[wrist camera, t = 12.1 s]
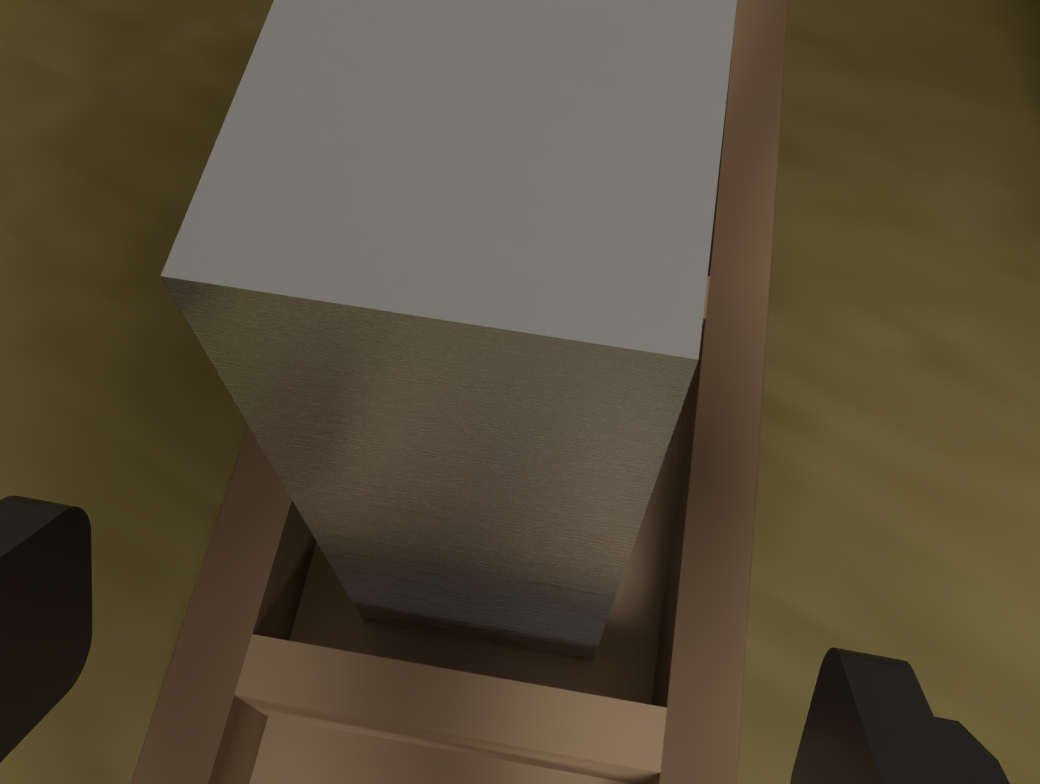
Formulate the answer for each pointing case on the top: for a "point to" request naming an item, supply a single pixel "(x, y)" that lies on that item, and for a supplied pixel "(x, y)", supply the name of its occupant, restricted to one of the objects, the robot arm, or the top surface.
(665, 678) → the brown wooden slotted rack
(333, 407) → the finger blank
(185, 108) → the top surface
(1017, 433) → the top surface
